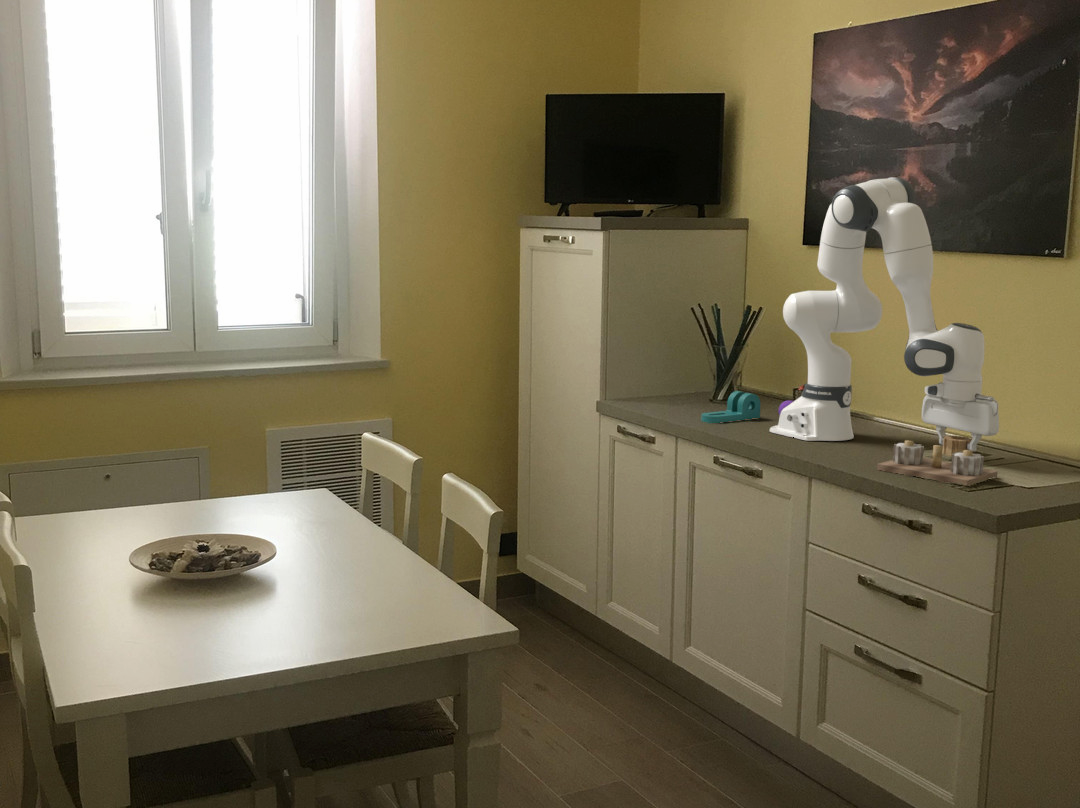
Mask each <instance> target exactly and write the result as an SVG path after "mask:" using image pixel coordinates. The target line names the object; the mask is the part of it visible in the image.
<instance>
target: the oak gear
mask: <svg viewBox="0 0 1080 808" xmlns="http://www.w3.org/2000/svg"><path fill="white" fill-rule="evenodd" d="M972 439H973V437H971V438H970V437H968V436H963V435H962V436H961V435H946V436H945V438H944V439H943V445H942V446H943V450H942V455H945V456H947V457H951V458H952V454H956V453H957V452H960V453H963V450H967V443H970V442H971V441H972Z"/></svg>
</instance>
